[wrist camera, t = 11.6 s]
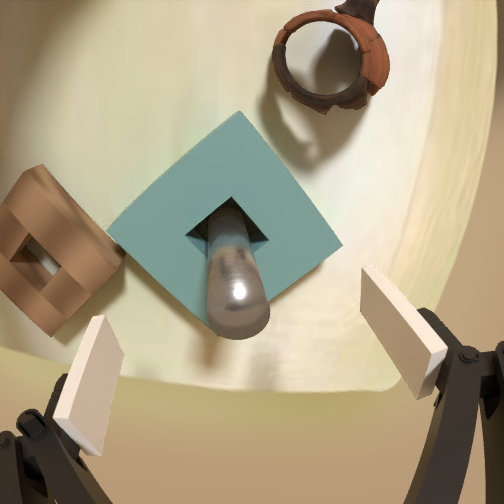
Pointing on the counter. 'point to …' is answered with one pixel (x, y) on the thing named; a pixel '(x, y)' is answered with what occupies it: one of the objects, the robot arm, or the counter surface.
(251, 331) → the pin
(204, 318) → the dock socket
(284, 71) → the brown ring with knob
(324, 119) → the counter surface
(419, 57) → the counter surface
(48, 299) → the pin mount
